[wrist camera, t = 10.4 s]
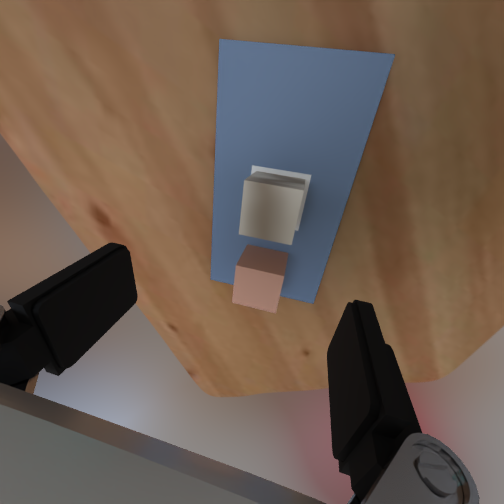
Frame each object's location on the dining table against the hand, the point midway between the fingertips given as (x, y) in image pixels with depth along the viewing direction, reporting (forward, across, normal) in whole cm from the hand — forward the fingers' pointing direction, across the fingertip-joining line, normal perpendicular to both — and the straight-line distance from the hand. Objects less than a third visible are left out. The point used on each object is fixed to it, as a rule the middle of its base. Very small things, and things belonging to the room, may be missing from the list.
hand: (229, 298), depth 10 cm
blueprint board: (+18, 0, 0) cm, 18 cm away
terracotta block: (+17, 0, +9) cm, 19 cm away
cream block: (+17, 0, 0) cm, 17 cm away
